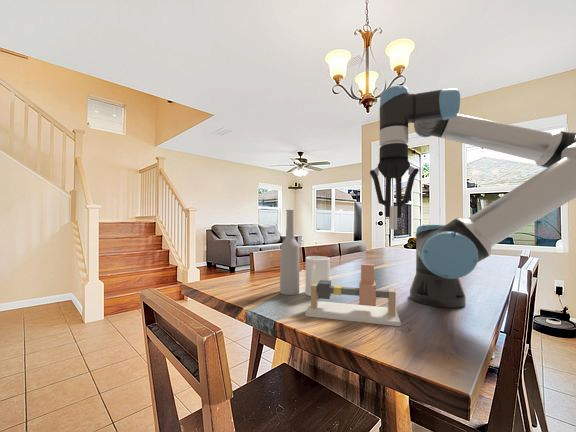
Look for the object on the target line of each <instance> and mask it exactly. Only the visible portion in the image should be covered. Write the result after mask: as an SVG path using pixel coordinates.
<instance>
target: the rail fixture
mask: <svg viewBox="0 0 576 432" xmlns="http://www.w3.org/2000/svg"><path fill="white" fill-rule="evenodd" d="M396 293H397V292H396V290H395V289H391V288H388V289H377V288H376V298H381V299H387V306H377V305H376V306H365V305H359V304H356V303H355V304H353V303H344V302H333V301H322V300H323V299H324V300H330V298H331V296H332V295H336V296H337V295H338V296H342V295H344V296H355V297H357V296H358V297H359V287H347V286H342V285H332V280H330V281H329V280H320V281H319V283H318V284H312V285H311V296H310V303H309V305H308V307H307V309H306V311H305V313H304V317H311V318H317V319H318V318H320V319H329V320H339V321H346V322H347V321H348V322H357V323H365V324H367V323H368V324H374V325H375V324H377V325H384V326H385V325H387V326H392V327H393V326H395V327H401V324H402V323H401V319H400V316H399V313H398V312H397V309H396V308H397V307H396V306H397V305H396V301H397V300H396ZM320 299H322V300H320ZM319 300H320V301H319Z"/></svg>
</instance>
